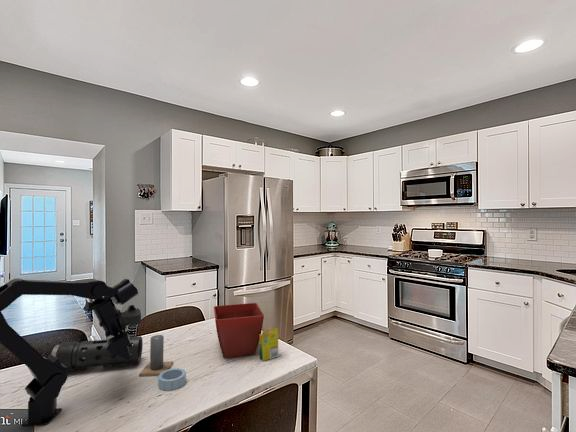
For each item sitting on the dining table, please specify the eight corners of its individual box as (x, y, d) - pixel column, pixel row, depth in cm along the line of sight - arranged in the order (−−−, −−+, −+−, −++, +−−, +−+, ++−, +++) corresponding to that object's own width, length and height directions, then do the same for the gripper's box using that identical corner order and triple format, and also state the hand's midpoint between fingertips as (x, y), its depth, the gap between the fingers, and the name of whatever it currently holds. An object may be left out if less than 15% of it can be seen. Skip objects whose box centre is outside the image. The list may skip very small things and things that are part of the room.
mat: (165, 375, 107) (165, 373, 107) (139, 376, 106) (139, 374, 106) (173, 363, 116) (173, 361, 116) (148, 364, 115) (148, 362, 115)
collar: (181, 389, 98) (181, 380, 98) (154, 391, 97) (154, 381, 97) (188, 376, 106) (188, 367, 106) (163, 377, 106) (163, 368, 106)
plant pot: (215, 363, 116) (215, 319, 116) (213, 343, 134) (213, 305, 135) (264, 357, 121) (264, 315, 121) (256, 339, 140) (256, 302, 140)
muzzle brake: (137, 369, 112) (137, 341, 112) (48, 379, 104) (48, 349, 105) (142, 357, 121) (142, 331, 121) (61, 366, 114) (61, 338, 114)
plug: (163, 368, 110) (164, 338, 110) (150, 371, 108) (150, 340, 108) (162, 363, 114) (163, 334, 114) (149, 366, 112) (150, 336, 112)
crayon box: (275, 354, 124) (275, 325, 124) (278, 357, 122) (278, 327, 122) (258, 358, 120) (259, 329, 120) (262, 361, 118) (262, 331, 118)
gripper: (136, 313, 93) (156, 352, 98) (131, 291, 109) (148, 325, 114) (96, 333, 88) (119, 373, 94) (97, 306, 104) (117, 342, 109)
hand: (127, 351), depth 103 cm, fingers open, 9 cm apart
